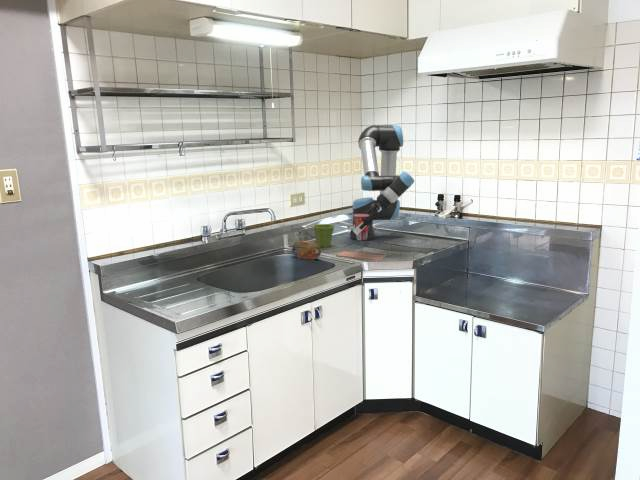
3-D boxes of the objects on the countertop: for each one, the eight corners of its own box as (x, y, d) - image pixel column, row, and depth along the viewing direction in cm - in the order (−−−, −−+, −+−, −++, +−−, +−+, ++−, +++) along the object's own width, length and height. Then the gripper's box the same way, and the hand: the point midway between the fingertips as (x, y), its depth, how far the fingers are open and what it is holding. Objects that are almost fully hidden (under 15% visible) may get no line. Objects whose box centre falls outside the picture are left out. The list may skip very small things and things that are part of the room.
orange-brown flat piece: (292, 257, 259) (291, 240, 258) (295, 256, 262) (295, 239, 261) (319, 260, 253) (319, 243, 251) (322, 259, 255) (322, 242, 254)
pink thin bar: (347, 250, 273) (347, 250, 273) (387, 255, 264) (387, 254, 264) (345, 251, 271) (345, 251, 271) (385, 256, 262) (385, 255, 262)
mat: (344, 252, 270) (344, 251, 270) (384, 256, 260) (384, 255, 260) (335, 256, 261) (335, 255, 261) (377, 260, 252) (377, 259, 252)
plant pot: (326, 249, 277) (326, 228, 275) (308, 246, 284) (308, 226, 282) (339, 245, 286) (339, 225, 284) (321, 243, 293) (321, 223, 291)
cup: (370, 237, 262) (370, 213, 260) (370, 240, 254) (370, 216, 252) (351, 237, 263) (351, 213, 261) (351, 240, 255) (351, 216, 253)
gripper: (396, 206, 246) (362, 240, 248) (388, 201, 266) (356, 233, 268) (385, 195, 245) (351, 230, 247) (378, 191, 265) (346, 223, 267)
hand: (353, 231), depth 258 cm, fingers closed on cup, 7 cm apart
